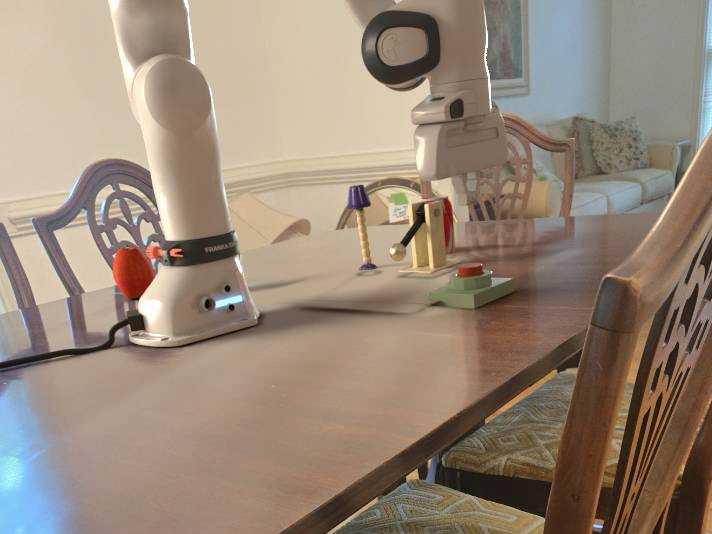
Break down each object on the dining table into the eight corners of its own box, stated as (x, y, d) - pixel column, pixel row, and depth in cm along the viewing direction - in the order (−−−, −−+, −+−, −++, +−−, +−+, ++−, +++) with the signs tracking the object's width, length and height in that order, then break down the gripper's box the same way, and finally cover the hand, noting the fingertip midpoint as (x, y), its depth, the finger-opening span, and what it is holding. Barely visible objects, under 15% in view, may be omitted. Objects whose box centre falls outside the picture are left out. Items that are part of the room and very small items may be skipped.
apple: (129, 304, 157) (114, 248, 151) (113, 300, 162) (98, 246, 157) (166, 295, 161) (152, 241, 156) (149, 291, 167) (136, 239, 161)
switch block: (474, 308, 122) (473, 283, 120) (429, 305, 127) (427, 280, 125) (513, 291, 130) (513, 267, 128) (469, 289, 135) (468, 265, 133)
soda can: (421, 261, 165) (415, 200, 159) (425, 255, 171) (420, 197, 165) (453, 258, 163) (449, 197, 157) (457, 253, 169) (453, 193, 163)
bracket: (431, 278, 148) (425, 206, 141) (399, 276, 152) (392, 207, 146) (461, 267, 154) (456, 198, 148) (429, 266, 159) (423, 199, 152)
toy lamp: (353, 276, 158) (341, 187, 150) (361, 271, 162) (349, 184, 154) (375, 274, 157) (364, 185, 148) (382, 270, 160) (372, 182, 152)
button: (474, 279, 124) (473, 268, 124) (453, 278, 127) (453, 267, 126) (487, 274, 127) (487, 263, 126) (467, 273, 129) (466, 262, 128)
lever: (403, 265, 144) (397, 251, 142) (390, 264, 146) (383, 251, 143) (438, 214, 148) (432, 200, 146) (425, 215, 150) (419, 200, 148)
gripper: (481, 101, 123) (486, 194, 130) (403, 112, 110) (413, 216, 117) (515, 97, 120) (519, 193, 126) (438, 108, 106) (447, 215, 113)
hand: (468, 204), depth 122 cm, fingers closed
